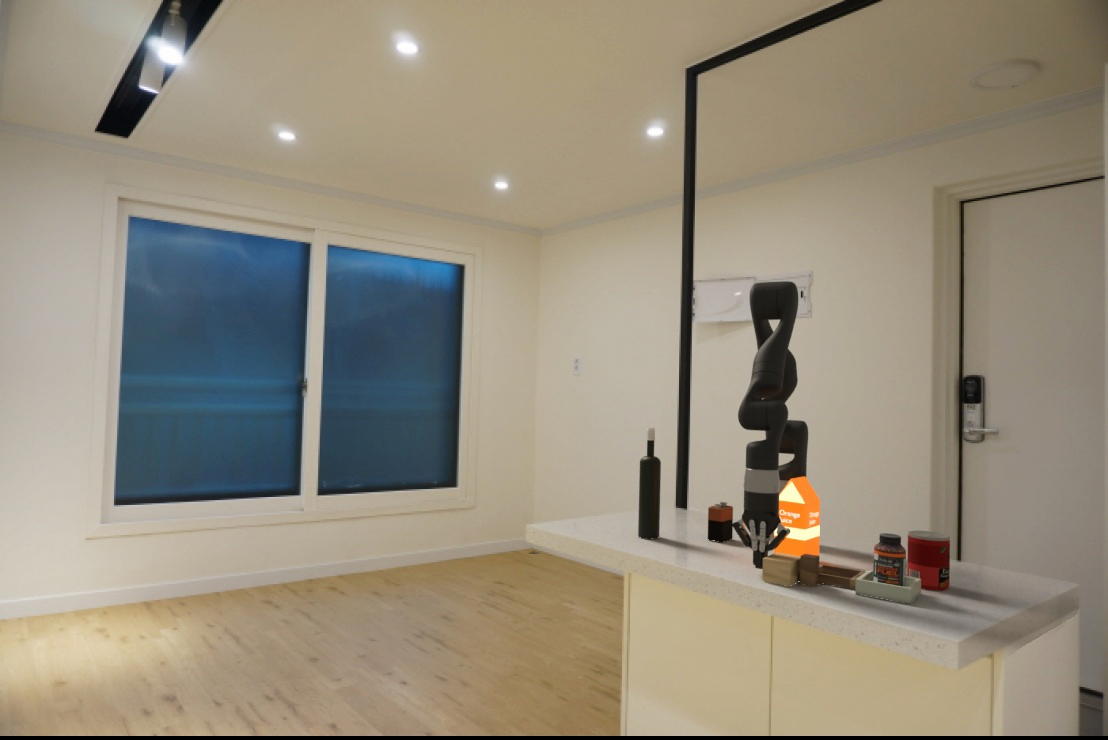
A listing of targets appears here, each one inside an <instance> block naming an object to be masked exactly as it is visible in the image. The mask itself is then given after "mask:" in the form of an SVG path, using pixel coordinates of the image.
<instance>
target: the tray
mask: <svg viewBox="0 0 1108 740" xmlns="http://www.w3.org/2000/svg"><path fill="white" fill-rule="evenodd" d="M855 593H856V594H855ZM854 594H855V595H857V594H862V595H867V596H872V597H871V598H873V597H878V598H883V599H888V600H887V601H889V600H892V601H891V602H894V601H897V602H896V603H899V602H902V603H901V604H905V603H907V604H906V605H912V604H913V603H914V602H915V600H917V598H918V597H919V596H920V595H922V589H921V579H919V578H913V577H907V576H906V575H905V587H902V586H897V585H891V584H885V583H880V582H874V581H873V570H867V571H865V573H864V574H862V575H861V576H859V577H858V578H857V579H855V589H854ZM862 595H861V596H862ZM867 596H866V597H867ZM878 598H877V599H878ZM883 599H882V600H883Z"/></svg>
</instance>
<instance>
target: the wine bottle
mask: <svg viewBox="0 0 1108 740" xmlns="http://www.w3.org/2000/svg"><path fill="white" fill-rule="evenodd" d="M655 439H656V429H655V427H647V429H646V440H647V441H646V442H647V443H646V455H645V456H642V457H641V458H640V460H639V480H638V481H639V482H638V483H639V485H638V486H639V487H638V490H639V491H638V495H639V496H638V524H637V527H638V528H637V529H638V530H637V533H638V534H637V535H638V536H639V537H641V538H640V539H643V538H647V539H646V540H652V539H651V538H658V537H659V538H660V526H661V525H660V520H661V518H660V516H661V515H660V514H661V513H660V512H661V474H662V473H661V472H662V471H661V470H662V469H661V467H662V461H661V459H660V458H659V457H658V456H655ZM638 536H637V537H638ZM639 537H638V538H639ZM659 538H658V539H659Z"/></svg>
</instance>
